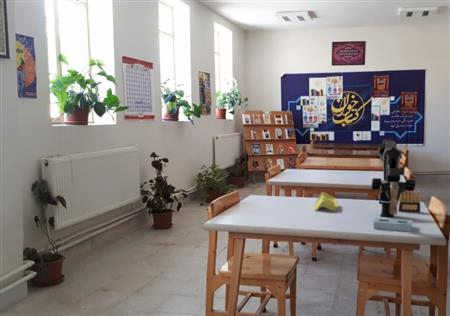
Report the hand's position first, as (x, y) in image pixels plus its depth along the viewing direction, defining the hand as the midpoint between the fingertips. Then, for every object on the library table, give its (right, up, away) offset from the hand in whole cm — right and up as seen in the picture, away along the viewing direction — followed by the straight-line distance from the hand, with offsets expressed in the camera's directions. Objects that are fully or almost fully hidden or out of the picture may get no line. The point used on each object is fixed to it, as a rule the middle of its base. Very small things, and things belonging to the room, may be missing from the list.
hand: (394, 199), depth 219 cm
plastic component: (-19, -9, +51) cm, 55 cm away
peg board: (+1, -13, +4) cm, 14 cm away
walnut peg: (0, -6, +2) cm, 7 cm away
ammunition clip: (+22, -10, +40) cm, 47 cm away
